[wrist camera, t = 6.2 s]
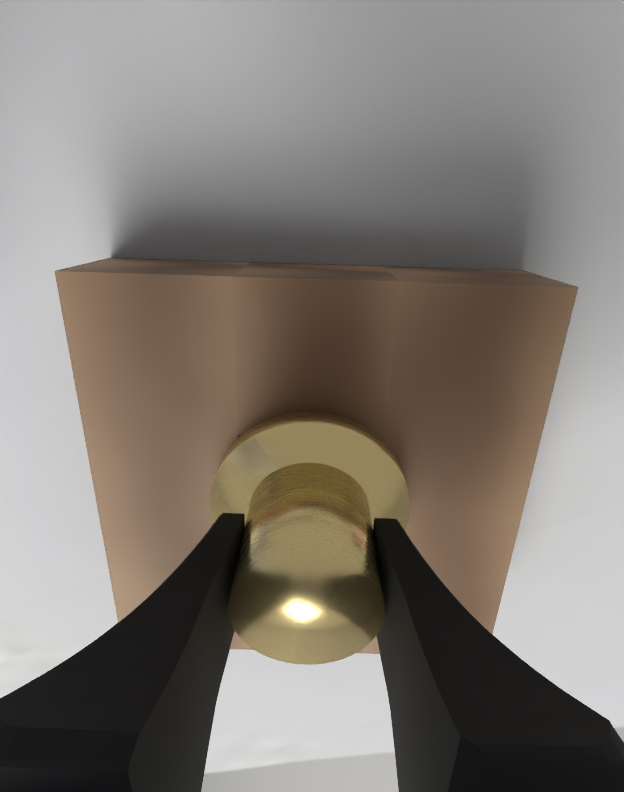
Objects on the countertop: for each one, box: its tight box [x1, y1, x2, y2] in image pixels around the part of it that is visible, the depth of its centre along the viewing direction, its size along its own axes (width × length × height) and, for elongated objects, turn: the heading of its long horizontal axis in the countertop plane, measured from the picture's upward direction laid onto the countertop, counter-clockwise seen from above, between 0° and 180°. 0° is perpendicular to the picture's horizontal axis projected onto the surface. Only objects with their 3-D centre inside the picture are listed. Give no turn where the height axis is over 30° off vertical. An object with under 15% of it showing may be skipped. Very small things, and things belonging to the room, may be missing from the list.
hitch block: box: [55, 258, 578, 654], centre depth 16 cm, size 14×14×4 cm
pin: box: [209, 412, 410, 664], centre depth 14 cm, size 6×6×7 cm
